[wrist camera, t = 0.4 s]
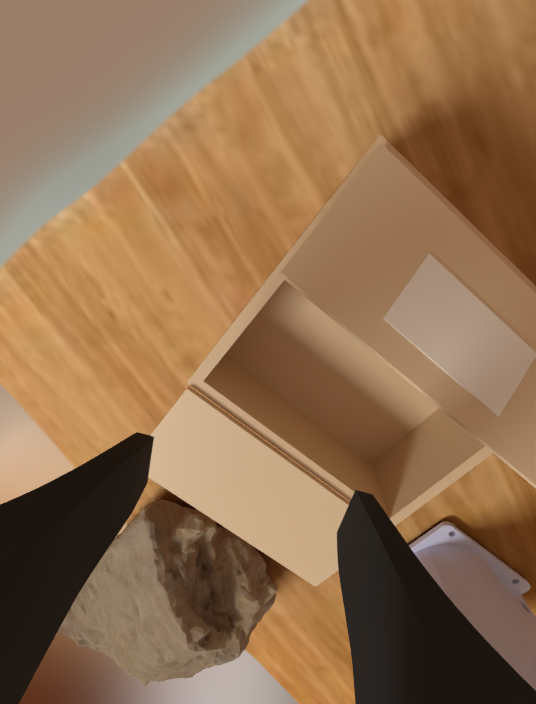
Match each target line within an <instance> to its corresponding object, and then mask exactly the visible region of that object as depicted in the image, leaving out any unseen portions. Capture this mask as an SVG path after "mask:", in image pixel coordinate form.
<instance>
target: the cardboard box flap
mask: <svg viewBox="0 0 536 704" xmlns="http://www.w3.org/2000/svg"><path fill="white" fill-rule="evenodd" d="M279 275H280V276H281V277H282V278H283V279H285V280H286V281H287V282H288V283H289V284H291V285H292V286H293V287H294V288H295V289H297V290H298V291H299V292H300V293H301V294H303V295H304V296H305V297H306V298H307V299H309V300H310V301H311V302H312V303H313V304H315V305H316V306H317V307H318V308H319V309H321V310H322V311H323V312H324V313H325V314H327V315H328V316H329V317H330V318H331V319H333V320H334V321H335V322H336V323H337V324H339V325H340V326H341V327H342V328H343V329H345V330H346V331H347V332H348V333H350V334H351V335H352V336H353V337H354V338H356V339H357V340H358V341H359V342H360V343H362V344H363V345H364V346H365V347H366V348H368V349H369V350H370V351H371V352H372V353H374V354H375V355H376V356H377V357H378V358H380V359H381V360H382V361H383V362H384V363H386V364H387V365H388V366H389V367H390V368H392V369H393V370H394V371H395V372H396V373H398V374H399V375H400V376H401V377H402V378H404V379H405V380H406V381H407V382H408V383H410V384H411V385H412V386H413V387H414V388H416V389H417V390H418V391H419V392H420V393H422V394H423V395H424V396H425V397H426V398H428V399H429V400H430V401H431V402H433V403H434V404H435V405H436V406H437V407H439V408H440V409H441V410H442V411H443V412H445V413H446V414H447V415H448V416H449V417H451V418H452V419H453V420H454V421H455V422H457V423H458V424H459V425H460V426H461V427H463V428H464V429H465V430H466V431H467V432H469V433H470V434H471V435H472V436H473V437H475V438H476V439H477V440H478V441H479V442H481V443H482V444H483V445H484V446H485V447H487V448H488V449H489V450H490V451H491V452H493V453H494V454H495V455H496V456H497V457H499V458H500V459H501V460H502V461H503V462H505V463H506V464H507V465H508V466H510V467H511V468H512V469H513V470H514V471H516V472H517V473H518V474H519V475H520V476H522V477H523V478H524V479H525V480H526V481H528V482H529V483H530V484H531V485H532V486H534V487H535V488H536V293H535V292H534V291H533V290H532V289H531V288H530V287H529V286H528V285H527V284H526V283H525V282H523V281H522V280H521V279H520V278H519V277H518V276H517V275H516V274H515V273H514V272H513V271H512V270H511V269H510V268H509V267H508V266H507V265H506V264H505V263H504V262H503V261H502V260H501V259H500V258H499V257H498V256H497V255H496V254H495V253H494V252H493V251H492V250H491V249H490V248H489V247H488V246H486V245H485V244H484V243H483V242H482V241H481V240H480V239H479V238H478V237H477V236H476V235H475V234H474V233H473V232H472V231H471V230H470V229H469V228H468V227H467V226H466V225H465V224H464V223H463V222H462V221H461V220H460V219H459V218H458V217H457V216H456V215H455V214H454V213H453V212H452V211H450V210H449V209H448V208H447V207H446V206H445V205H444V204H443V203H442V202H441V201H440V200H439V199H438V198H437V197H436V196H435V195H434V194H433V193H432V192H431V191H430V190H429V189H428V188H427V187H426V186H425V185H424V184H423V183H422V182H421V181H420V180H419V179H418V178H417V177H416V176H415V175H413V174H412V173H411V172H410V171H409V170H408V169H407V168H406V167H405V166H404V165H403V164H402V163H401V162H400V161H399V160H398V159H397V158H396V157H395V156H394V155H393V154H392V153H391V152H390V151H389V150H388V149H387V148H386V147H385V146H384V145H383V144H382V143H381V144H380V145H379V146H378V147H377V148H376V150H375V151H374V152H373V154H372V155H371V156H370V157H369V159H368V160H367V161H366V163H365V164H364V165H363V166H362V168H361V169H360V170H359V172H358V173H357V174H356V176H355V177H354V178H353V179H352V181H351V182H350V183H349V185H348V186H347V187H346V188H345V190H344V191H343V192H342V194H341V195H340V196H339V197H338V199H337V200H336V201H335V203H334V204H333V205H332V207H331V208H330V209H329V210H328V212H327V213H326V214H325V216H324V217H323V218H322V219H321V221H320V222H319V223H318V225H317V226H316V227H315V228H314V230H313V231H312V232H311V234H310V235H309V236H308V238H307V239H306V240H305V241H304V243H303V244H302V245H301V247H300V248H299V249H298V250H297V252H296V253H295V254H294V256H293V257H292V258H291V259H290V261H289V262H288V263H287V265H286V266H285V267H284V269H283V270H282V271H281V272H280V274H279Z"/></svg>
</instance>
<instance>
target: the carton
mask: <svg viewBox="0 0 536 704" xmlns="http://www.w3.org/2000/svg"><path fill="white" fill-rule="evenodd" d="M381 143H382V144H383V145H384V146H385V147H386V148H387V149H388V150H389V151H390V152H391V153H392V154H393V155H394V156H395V157H396V158H397V159H398V160H399V161H400V162H401V163H402V164H403V165H404V166H405V167H406V168H407V169H408V170H409V171H410V172H411V173H412V174H413V175H415V176H416V177H417V178H418V179H419V180H420V181H421V182H422V183H423V184H424V185H425V186H426V187H427V188H428V189H429V190H430V191H431V192H432V193H433V194H434V195H435V196H436V197H437V198H438V199H439V200H440V201H441V202H442V203H443V204H444V205H445V206H446V207H447V208H448V209H449V210H450V211H452V212H453V213H454V214H455V215H456V216H457V217H458V218H459V219H460V220H461V221H462V222H463V223H464V224H465V225H466V226H467V227H468V228H469V229H470V230H471V231H472V232H473V233H474V234H475V235H476V236H477V237H478V238H479V239H480V240H481V241H482V242H483V243H484V244H485V245H486V246H488V247H489V248H490V249H491V250H492V251H493V252H494V253H495V254H496V255H497V256H498V257H499V258H500V259H501V260H502V261H503V262H504V263H505V264H506V265H507V266H508V267H509V268H510V269H511V270H512V271H513V272H514V273H515V274H516V275H517V276H518V277H519V278H520V279H521V280H522V281H523V282H525V283H526V284H527V285H528V286H529V287H530V288H531V289H532V290H533V291H534V292H535V293H536V286H535V285H534V284H533V283H532V282H531V281H530V280H529V279H528V278H527V277H526V276H525V275H524V274H523V273H522V272H521V271H520V270H519V269H518V268H517V267H516V266H515V265H514V264H513V263H512V262H511V261H510V260H509V259H508V258H507V257H506V256H505V255H504V254H503V253H502V252H501V251H500V250H498V249H497V248H496V247H495V246H494V245H493V244H492V243H491V242H490V241H489V240H488V239H487V238H486V237H485V236H484V235H483V234H482V233H481V232H480V231H479V230H478V229H477V228H476V227H475V226H474V225H473V224H472V223H471V222H470V221H469V220H468V219H467V218H466V217H465V216H464V215H463V214H462V213H461V212H460V211H459V210H458V209H457V208H456V207H455V206H454V205H452V204H451V203H450V202H449V201H448V200H447V199H446V198H445V197H444V196H443V195H442V194H441V193H440V192H439V191H438V190H437V189H436V188H435V187H434V186H433V185H432V184H431V183H430V182H429V181H428V180H427V179H426V178H425V177H424V176H423V175H422V174H421V173H420V172H419V171H418V170H417V169H416V168H415V167H414V166H413V165H412V164H411V163H410V162H409V161H407V160H406V159H405V158H404V157H403V156H402V155H401V154H400V153H399V152H398V151H397V150H396V149H395V148H394V147H393V146H392V145H391V144H390V143H389V142H388V141H387V140H386V139H385V138H384V137H383V136H382V135H381V134H380V135H379V137H378V138H377V139H376V140H375V142H374V143H373V144H372V146H371V147H370V148H369V149H368V151H367V152H366V153H365V154H364V156H363V157H362V158H361V159H360V161H359V162H358V163H357V164H356V166H355V167H354V168H353V170H352V171H351V172H350V173H349V175H348V176H347V177H346V179H345V180H344V181H343V182H342V184H341V185H340V186H339V188H338V189H337V190H336V191H335V193H334V194H333V195H332V197H331V198H330V199H329V200H328V202H327V203H326V204H325V205H324V207H323V208H322V209H321V211H320V212H319V213H318V214H317V216H316V217H315V218H314V220H313V221H312V222H311V223H310V225H309V226H308V227H307V229H306V230H305V231H304V232H303V234H302V235H301V236H300V238H299V239H298V240H297V241H296V243H295V244H294V245H293V247H292V248H291V249H290V250H289V252H288V253H287V254H286V255H285V257H284V258H283V259H282V261H281V262H280V263H279V264H278V266H277V267H276V268H275V270H274V271H273V272H272V273H271V275H270V276H269V277H268V279H267V280H266V281H265V282H264V284H263V285H262V286H261V288H260V289H259V290H258V291H257V293H256V294H255V295H254V297H253V298H252V299H251V300H250V302H249V303H248V304H247V305H246V307H245V308H244V309H243V311H242V312H241V313H240V314H239V316H238V317H237V318H236V320H235V321H234V322H233V323H232V325H231V326H230V327H229V329H228V330H227V331H226V332H225V334H224V335H223V336H222V338H221V339H220V340H219V341H218V343H217V344H216V345H215V347H214V348H213V349H212V350H211V352H210V353H209V354H208V356H207V357H206V358H205V359H204V361H203V362H202V363H201V365H200V366H199V367H198V369H197V370H196V371H195V372H194V374H193V375H192V376H191V378H190V379H189V380H188V381H187V383H188V384H190V385H191V386H192V387H194V388H195V389H197V390H198V391H199V392H201V393H202V394H203V395H205V396H206V397H208V398H209V399H210V400H212V401H213V402H214V403H216V404H217V405H219V406H220V407H221V408H223V409H224V410H225V411H227V412H228V413H230V414H231V415H232V416H234V417H235V418H237V419H238V420H239V421H241V422H242V423H243V424H245V425H246V426H248V427H249V428H250V429H252V430H253V431H254V432H256V433H257V434H259V435H260V436H261V437H263V438H264V439H266V440H267V441H268V442H270V443H271V444H272V445H274V446H275V447H277V448H278V449H279V450H281V451H282V452H283V453H285V454H286V455H288V456H289V457H290V458H292V459H293V460H294V461H296V462H297V463H299V464H300V465H301V466H303V467H304V468H306V469H307V470H308V471H310V472H311V473H312V474H314V475H315V476H317V477H318V478H319V479H321V480H322V481H323V482H325V483H326V484H328V485H329V486H330V487H332V488H333V489H335V490H336V491H337V492H339V493H340V494H341V495H343V496H344V497H346V498H347V499H348V500H350V501H351V499H352V497H353V494H354V492H355V490H358V491H362V492H366V493H369V494H373V496H374V497H375V498H376V500H377V501H378V502H379V504H380V505H381V507H382V508H383V510H384V511H385V513H386V514H387V515H388V517H389V518H390V520H391V521H392V523H393V524H394V526H396V525H397V524H398V523H400V522H401V521H403V520H404V519H405V518H407V517H408V516H409V515H411V514H412V513H413V512H415V511H416V510H417V509H419V508H420V507H421V506H423V505H424V504H425V503H427V502H428V501H429V500H431V499H432V498H433V497H435V496H436V495H437V494H439V493H440V492H442V491H443V490H444V489H446V488H447V487H448V486H450V485H451V484H452V483H454V482H455V481H456V480H458V479H459V478H460V477H462V476H463V475H464V474H466V473H467V472H468V471H470V470H471V469H472V468H474V467H475V466H477V465H478V464H479V463H481V462H482V461H483V460H485V459H486V458H487V457H489V456H490V455H491V454H493V452H491V451H490V450H489V449H488V448H487V447H485V446H484V445H483V444H482V443H481V442H479V441H478V440H477V439H476V438H475V437H473V436H472V435H471V434H470V433H469V432H467V431H466V430H465V429H464V428H463V427H461V426H460V425H459V424H458V423H457V422H455V421H454V420H453V419H452V418H451V417H449V416H448V415H447V414H446V413H445V412H443V411H442V410H441V409H440V408H439V407H437V406H436V405H435V404H434V403H433V402H431V401H430V400H429V399H428V398H426V397H425V396H424V395H423V394H422V393H420V392H419V391H418V390H417V389H416V388H414V387H413V386H412V385H411V384H410V383H408V382H407V381H406V380H405V379H404V378H402V377H401V376H400V375H399V374H398V373H396V372H395V371H394V370H393V369H392V368H390V367H389V366H388V365H387V364H386V363H384V362H383V361H382V360H381V359H380V358H378V357H377V356H376V355H375V354H374V353H372V352H371V351H370V350H369V349H368V348H366V347H365V346H364V345H363V344H362V343H360V342H359V341H358V340H357V339H356V338H354V337H353V336H352V335H351V334H350V333H348V332H347V331H346V330H345V329H343V328H342V327H341V326H340V325H339V324H337V323H336V322H335V321H334V320H333V319H331V318H330V317H329V316H328V315H327V314H325V313H324V312H323V311H322V310H321V309H319V308H318V307H317V306H316V305H315V304H313V303H312V302H311V301H310V300H309V299H307V298H306V297H305V296H304V295H303V294H301V293H300V292H299V291H298V290H297V289H295V288H294V287H293V286H292V285H291V284H289V283H288V282H287V281H286V280H285V279H283V278H282V277H281V276H280V275H279V274H280V272H281V271H282V270H283V269H284V267H285V266H286V265H287V263H288V262H289V261H290V259H291V258H292V257H293V256H294V254H295V253H296V252H297V250H298V249H299V248H300V247H301V245H302V244H303V243H304V241H305V240H306V239H307V238H308V236H309V235H310V234H311V232H312V231H313V230H314V228H315V227H316V226H317V225H318V223H319V222H320V221H321V219H322V218H323V217H324V216H325V214H326V213H327V212H328V210H329V209H330V208H331V207H332V205H333V204H334V203H335V201H336V200H337V199H338V197H339V196H340V195H341V194H342V192H343V191H344V190H345V188H346V187H347V186H348V185H349V183H350V182H351V181H352V179H353V178H354V177H355V176H356V174H357V173H358V172H359V170H360V169H361V168H362V166H363V165H364V164H365V163H366V161H367V160H368V159H369V157H370V156H371V155H372V154H373V152H374V151H375V150H376V148H377V147H378V146H379V145H380V144H381ZM150 436H153V437H154V441H153V447H152V454H151V461H150V468H149V475H148V477H149V478H150V479H152V480H153V481H155V482H156V483H158V484H159V485H161V486H162V487H164V488H165V489H167V490H168V491H170V492H171V493H173V494H174V495H176V496H178V497H179V498H181V499H182V500H184V501H185V502H187V503H188V504H190V505H191V506H193V507H194V508H196V509H197V510H199V511H200V512H202V513H203V514H205V515H207V516H208V517H210V518H211V519H213V520H214V521H216V522H217V523H219V524H220V525H222V526H223V527H225V528H226V529H228V530H229V531H231V532H232V533H234V534H236V535H237V536H239V537H240V538H242V539H243V540H245V541H246V542H248V543H249V544H251V545H252V546H254V547H255V548H257V549H258V550H260V551H261V552H263V553H265V554H266V555H268V556H269V557H271V558H272V559H274V560H275V561H277V562H278V563H280V564H281V565H283V566H284V567H286V568H287V569H289V570H290V571H292V572H294V573H295V574H297V575H298V576H300V577H301V578H303V579H304V580H306V581H307V582H309V583H310V584H312V585H313V586H315V587H316V586H318V585H319V584H320V583H322V582H323V581H324V580H326V579H327V578H328V577H330V576H331V575H332V574H334V573H335V572H336V571H338V570H339V569H338V556H337V531H338V528H339V526H340V524H341V522H342V519H343V517H344V515H345V513H346V510H347V508H348V506H349V503H350V502H348V501H347V500H346V499H344V498H343V497H341V496H340V495H339V494H337V493H336V492H335V491H333V490H332V489H330V488H329V487H328V486H326V485H325V484H323V483H322V482H321V481H319V480H318V479H317V478H315V477H314V476H312V475H311V474H310V473H308V472H307V471H305V470H304V469H303V468H301V467H300V466H299V465H297V464H296V463H294V462H293V461H292V460H290V459H289V458H288V457H286V456H285V455H283V454H282V453H281V452H279V451H278V450H276V449H275V448H274V447H272V446H271V445H270V444H268V443H267V442H265V441H264V440H263V439H261V438H260V437H258V436H257V435H256V434H254V433H253V432H252V431H250V430H249V429H247V428H246V427H245V426H243V425H242V424H241V423H239V422H238V421H236V420H235V419H234V418H232V417H231V416H229V415H228V414H227V413H225V412H224V411H223V410H221V409H220V408H218V407H217V406H216V405H214V404H213V403H211V402H210V401H209V400H207V399H206V398H205V397H203V396H202V395H200V394H199V393H198V392H196V391H195V390H194V389H192V388H191V387H188V388H187V389H186V391H185V392H184V393H183V394H182V396H181V397H180V398H179V399H178V401H177V402H176V403H175V405H174V406H173V407H172V408H171V410H170V411H169V412H168V413H167V415H166V416H165V417H164V419H163V420H162V421H161V422H160V424H159V425H158V426H157V427H156V429H155V430H154V431H153V432H152V434H151V435H150Z"/></svg>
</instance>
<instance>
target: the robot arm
mask: <svg viewBox="0 0 536 704" xmlns="http://www.w3.org/2000/svg"><path fill="white" fill-rule="evenodd" d="M153 441H154V437H153V436H149V435H145V434H142V433H138V432H137V433H135V434H133V435H131V436H130V437H128V438H126V439H125V440H123V441H121V442H120V443H118V444H117V445H115V446H113V447H112V448H110V449H108V450H107V451H105V452H103V453H102V454H100V455H98V456H97V457H95V458H93V459H91V460H90V461H88V462H86V463H84V464H83V465H81V466H79V467H77V468H76V469H74V470H72V471H70V472H68V473H66V474H64V475H62V476H60V477H59V478H57V479H55V480H53V481H51V482H49V483H47V484H45V485H43V486H41V487H39V488H37V489H35V490H33V491H30V492H29V493H26V494H24V495H22V496H20V497H17V498H15V499H13V500H10V501H8V502H6V503H3V504H1V505H0V704H19V702H20V700H21V699H22V697H23V695H24V693H25V691H26V689H27V687H28V685H29V683H30V681H31V679H32V677H33V675H34V674H35V672H36V670H37V668H38V666H39V665H40V663H41V661H42V659H43V657H44V655H45V653H46V651H47V650H48V648H49V646H50V644H51V642H52V641H53V639H54V637H55V635H56V633H57V631H58V630H59V628H60V626H61V624H62V622H63V621H64V619H65V617H66V615H67V613H68V612H69V610H70V608H71V606H72V604H73V603H74V601H75V599H76V597H77V596H78V594H79V592H80V591H81V589H82V587H83V586H84V584H85V583H86V581H87V579H88V578H89V576H90V575H91V573H92V572H93V570H94V569H95V567H96V566H97V564H98V563H99V561H100V560H101V558H102V557H103V555H104V554H105V552H106V551H107V549H108V548H109V546H110V545H111V543H112V542H113V540H114V539H115V537H116V536H117V534H118V533H119V531H120V530H121V528H122V527H123V525H124V524H125V522H126V521H127V519H128V518H129V516H130V514H131V513H132V511H133V510H134V508H135V506H136V504H137V502H138V500H139V498H140V496H141V494H142V492H143V490H144V488H145V486H146V484H147V482H148V475H149V468H150V461H151V454H152V447H153ZM451 531H452V532H451ZM337 556H338V569H339V576H340V583H341V589H342V596H343V602H344V609H345V615H346V621H347V628H348V634H349V641H350V647H351V655H352V664H353V675H354V688H355V702H356V704H536V616H535V615H534V613H533V612H532V610H531V609H530V607H529V606H528V604H527V603H526V601H525V599H524V598H523V596H522V594H523V593H525V592H527V591H529V590H530V588H531V586H530V584H529V583H528V581H527V580H526V579H524V578H523V577H522V576H520V575H519V574H518V573H516V572H515V571H514V570H512V569H511V568H510V567H508V566H507V565H506V564H504V563H503V562H502V561H501V560H499V559H498V558H497V557H495V556H494V555H493V554H491V553H490V552H489V551H487V550H486V549H485V548H483V547H482V546H481V545H479V544H478V543H477V542H475V541H474V540H473V539H472V538H470V537H469V536H468V535H466V534H465V533H464V532H462V531H461V530H460V529H458V528H457V527H456V526H454V525H453V524H452V523H450V522H448V521H444V522H441V523H440V524H438V525H437V526H435V527H434V528H433V529H431V530H430V531H428V532H427V533H425V534H424V535H423V536H421V537H420V538H418V539H417V540H416V541H414V542H413V543H411V544H410V545H408V544H407V543H406V541H405V540H404V538H403V537H402V536H401V534H400V533H399V531H398V530H397V528H396V527H395V526H394V524H393V523H392V521H391V520H390V518H389V517H388V515H387V514H386V513H385V511H384V510H383V508H382V507H381V505H380V504H379V502H378V501H377V500H376V498H375V497H374V496H373V494H369V493H366V492H362V491H358V490H355V492H354V494H353V497H352V499H351V501H350V503H349V506H348V508H347V510H346V513H345V515H344V517H343V519H342V522H341V524H340V526H339V528H338V531H337Z"/></svg>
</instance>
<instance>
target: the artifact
mask: <svg viewBox="0 0 536 704" xmlns="http://www.w3.org/2000/svg"><path fill="white" fill-rule="evenodd" d="M266 567H267V564H266V562H265V561H264V559H263V558H262V556H261V555H260V554H259V552H258V551H257V550H256V549H255V548H254V547H253V546H252V545H251V544H249V543H248V542H246V541H245V540H243V539H242V538H240V537H239V536H237V535H236V534H234V533H232V532H231V531H229V530H228V529H226V528H223V527H220V526H218V525H216V523H215V521H214V520H213V519H211V518H210V517H208V516H207V515H205V514H203V513H202V512H200V511H199V510H195V509H191V508H186V507H182V506H180V505H178V504H176V503H173V502H171V501H167V500H160V501H157V502H155V503H152V504H149V505H146V506H145V507H144V509H143V510H142V511H141V513H140V514H139V515H138V516H136V517H135V518H134V519H133V520H132V522H130V523H129V524H128V525H127V527H126V528H125V529H124V531H123V532H122V533H121V534H120V535H118V536H117V537H116V538H115V539H114V540H113V542H112V543H111V545H110V546H109V548H108V549H107V551H106V552H105V554H104V555H103V557H102V558H101V560H100V561H99V563H98V564H97V566H96V567H95V569H94V570H93V572H92V573H91V575H90V576H89V578H88V579H87V581H86V583H85V584H84V586H83V587H82V589H81V591H80V592H79V594H78V596H77V597H76V599H75V601H74V603H73V604H72V606H71V608H70V610H69V612H68V613H67V615H66V617H65V619H64V621H63V622H62V624H61V626H60V628H59V631H60V632H61V634H64V635H66V636H69V638H70V639H71V640H74V641H75V642H76V644H77V645H78V646H82V647H90V649H92V650H94V651H98V652H103V653H104V654H105V655H108V656H110V658H111V660H112V661H113V662H115V663H116V664H117V665H118V666H119V667H120V668H121V669H123V670H124V671H125V672H126V673H127V675H128V676H137V677H138V679H139V680H140V681H141V682H142V684H143V685H144V686H146V685H147V684H148V683H149V682H150V681H165V680H168V679H173V678H189V677H192V676H193V675H195V674H196V673H198V672H200V671H201V670H203V669H205V668H210V667H212V666H215V665H221V664H224V663H227V662H230V661H233V660H235V659H236V658H238V657H239V656H240V655H241V653H242V652H243V651H244V649H245V648H246V646H247V644H248V642H249V637H250V634H251V633H252V631H253V630H254V628H255V627H256V625H257V623H258V622H259V621H261V619H262V617H263V615H264V614H265V613H266V612H267V611H268V610H269V609H270V607H271V606H272V605H273V603H274V600H275V596H276V595H275V592H276V590H277V589H278V588H277V586H276V585H275V584H274V583H273V582H271V578H270V577H269V576H268V575H267V573H266Z"/></svg>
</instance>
